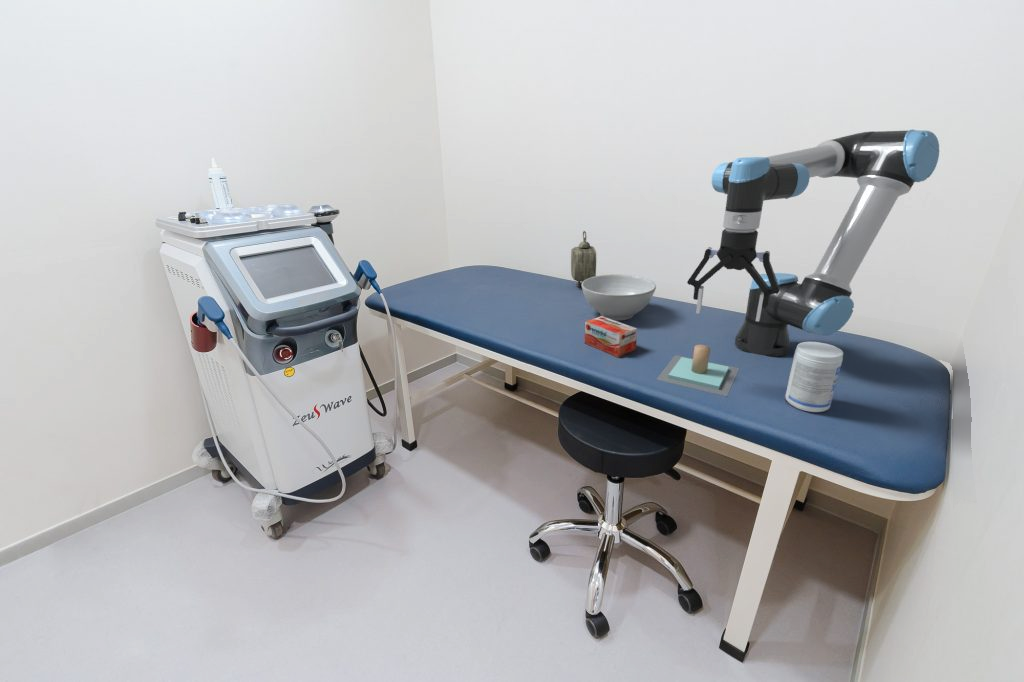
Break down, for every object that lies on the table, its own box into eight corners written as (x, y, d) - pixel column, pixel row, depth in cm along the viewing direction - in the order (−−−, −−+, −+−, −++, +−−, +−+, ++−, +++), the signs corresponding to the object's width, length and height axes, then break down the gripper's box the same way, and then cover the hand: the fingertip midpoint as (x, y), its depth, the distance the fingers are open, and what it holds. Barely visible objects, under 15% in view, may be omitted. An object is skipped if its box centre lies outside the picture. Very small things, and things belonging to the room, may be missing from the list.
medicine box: (636, 351, 145) (638, 327, 142) (619, 358, 140) (620, 334, 137) (600, 337, 156) (601, 315, 153) (583, 343, 152) (583, 321, 148)
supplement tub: (837, 415, 108) (853, 358, 103) (793, 412, 110) (806, 357, 104) (818, 394, 117) (832, 341, 111) (778, 392, 119) (790, 340, 113)
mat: (674, 356, 140) (674, 355, 140) (739, 369, 131) (739, 368, 131) (656, 381, 126) (656, 379, 126) (726, 398, 117) (727, 396, 117)
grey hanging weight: (595, 291, 203) (597, 233, 193) (574, 292, 203) (575, 234, 193) (589, 282, 216) (591, 227, 206) (570, 282, 216) (571, 228, 206)
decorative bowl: (646, 303, 186) (649, 274, 181) (659, 328, 161) (662, 295, 156) (579, 303, 188) (580, 274, 184) (582, 327, 164) (583, 295, 159)
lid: (681, 359, 137) (684, 335, 133) (728, 369, 130) (732, 343, 127) (668, 377, 127) (671, 351, 124) (718, 389, 120) (723, 362, 117)
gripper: (680, 229, 109) (672, 313, 118) (802, 235, 98) (783, 328, 106) (687, 224, 115) (678, 304, 124) (803, 229, 103) (785, 317, 112)
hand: (727, 315), depth 115 cm, fingers open, 13 cm apart
